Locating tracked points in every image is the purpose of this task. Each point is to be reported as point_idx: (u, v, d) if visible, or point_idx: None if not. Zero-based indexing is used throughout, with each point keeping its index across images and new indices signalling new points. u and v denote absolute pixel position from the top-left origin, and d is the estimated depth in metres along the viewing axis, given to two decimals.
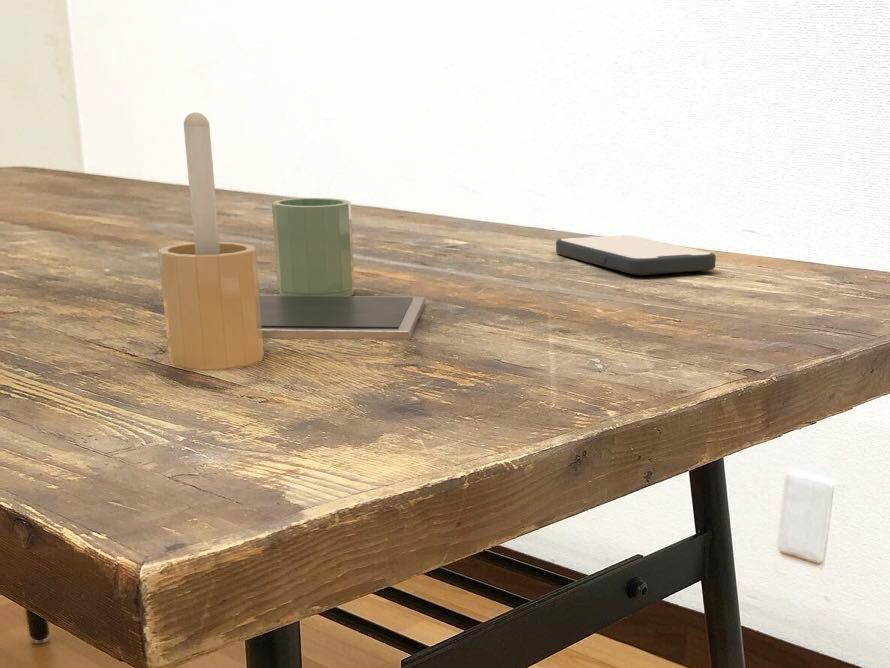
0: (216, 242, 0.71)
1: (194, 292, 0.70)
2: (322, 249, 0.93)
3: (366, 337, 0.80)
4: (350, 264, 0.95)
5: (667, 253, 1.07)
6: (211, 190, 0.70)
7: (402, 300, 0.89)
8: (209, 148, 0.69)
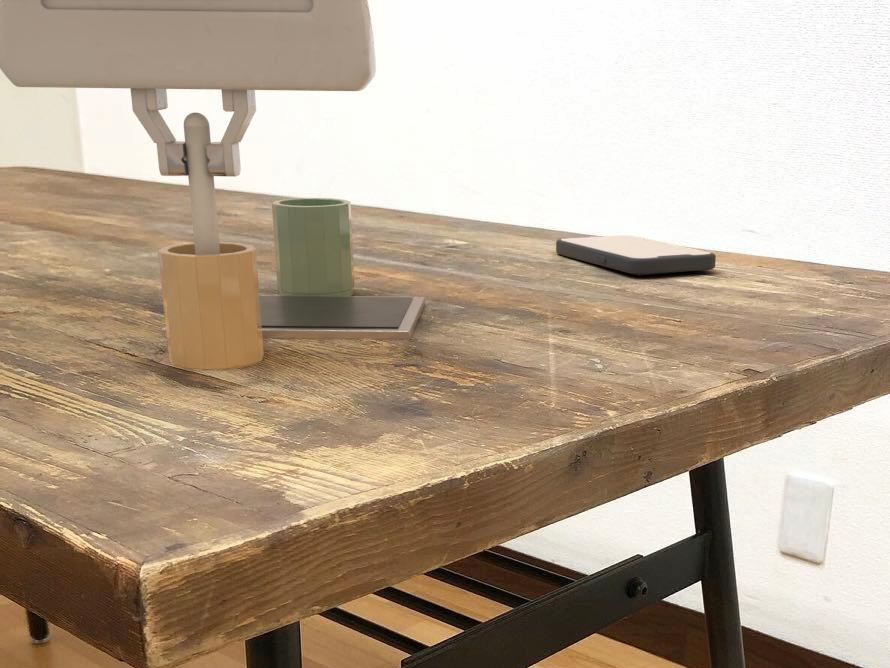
0: (216, 242, 0.71)
1: (194, 292, 0.70)
2: (322, 249, 0.93)
3: (366, 337, 0.80)
4: (350, 264, 0.95)
5: (667, 253, 1.07)
6: (211, 190, 0.70)
7: (402, 300, 0.89)
8: None
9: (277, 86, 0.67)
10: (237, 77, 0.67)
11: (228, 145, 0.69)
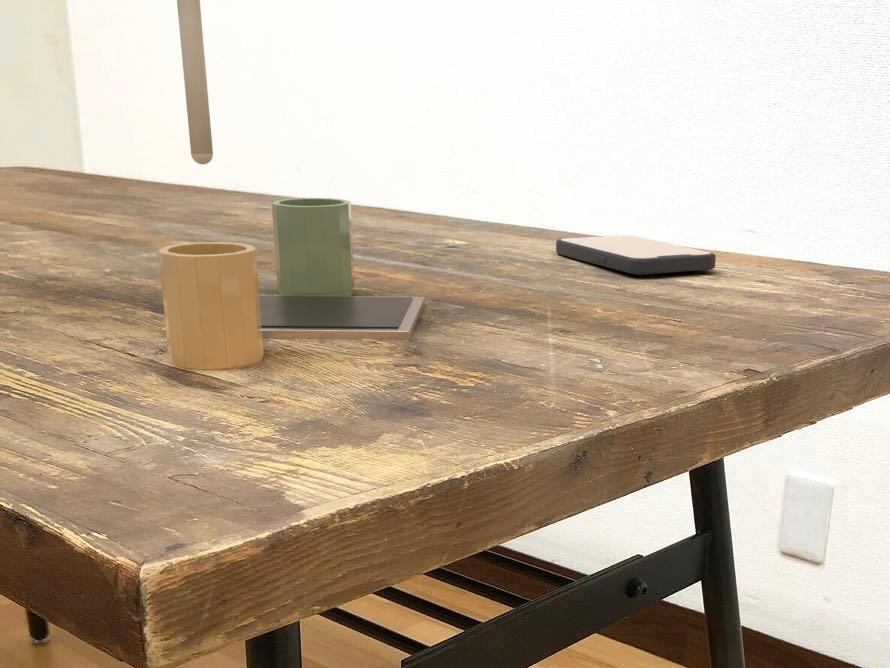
0: (202, 52, 0.79)
1: (194, 292, 0.70)
2: (322, 249, 0.93)
3: (366, 337, 0.80)
4: (350, 264, 0.95)
5: (667, 253, 1.07)
6: (197, 2, 0.78)
7: (402, 300, 0.89)
8: None
9: None
10: None
11: None
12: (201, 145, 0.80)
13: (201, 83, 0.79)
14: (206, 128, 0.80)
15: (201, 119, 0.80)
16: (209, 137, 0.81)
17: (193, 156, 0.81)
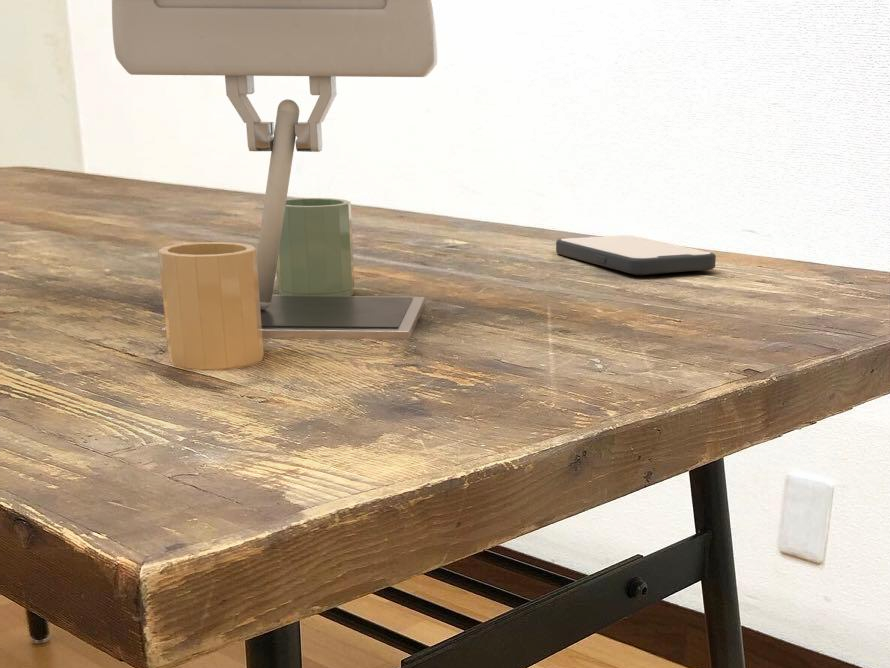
0: (283, 211, 0.82)
1: (194, 292, 0.70)
2: (322, 249, 0.93)
3: (366, 337, 0.80)
4: (350, 264, 0.95)
5: (667, 253, 1.07)
6: (288, 167, 0.81)
7: (402, 300, 0.89)
8: None
9: (354, 72, 0.78)
10: (320, 65, 0.78)
11: (313, 124, 0.80)
12: (262, 294, 0.84)
13: (275, 239, 0.83)
14: (270, 279, 0.84)
15: (268, 271, 0.83)
16: (271, 288, 0.84)
17: None
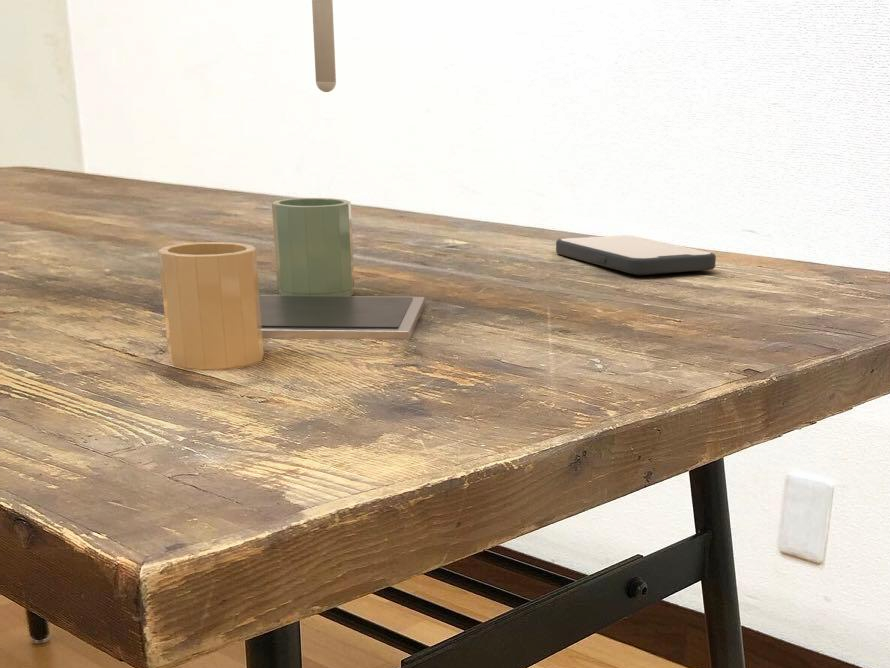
0: None
1: (194, 292, 0.70)
2: (322, 249, 0.93)
3: (366, 337, 0.80)
4: (350, 264, 0.95)
5: (667, 253, 1.07)
6: None
7: (402, 300, 0.89)
8: None
9: None
10: None
11: None
12: (326, 73, 0.86)
13: (328, 15, 0.85)
14: (331, 57, 0.86)
15: (327, 49, 0.86)
16: (334, 66, 0.87)
17: (318, 84, 0.87)
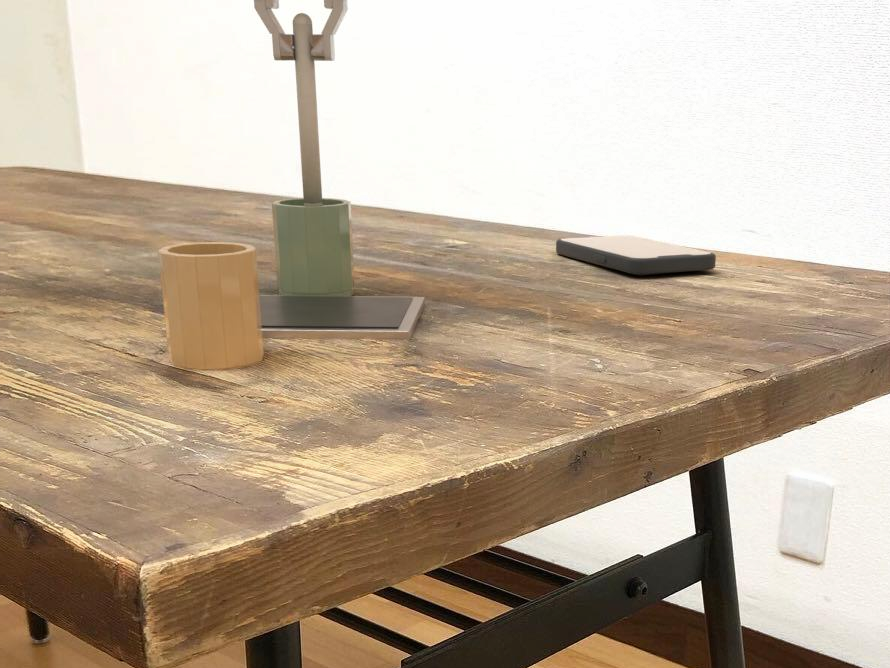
0: (316, 116, 0.92)
1: (194, 292, 0.70)
2: (322, 249, 0.93)
3: (366, 337, 0.80)
4: (350, 264, 0.95)
5: (667, 253, 1.07)
6: (313, 75, 0.90)
7: (402, 300, 0.89)
8: None
9: None
10: None
11: (327, 35, 0.89)
12: (313, 195, 0.93)
13: (315, 143, 0.92)
14: (318, 181, 0.93)
15: (314, 174, 0.93)
16: (320, 189, 0.94)
17: (306, 205, 0.94)
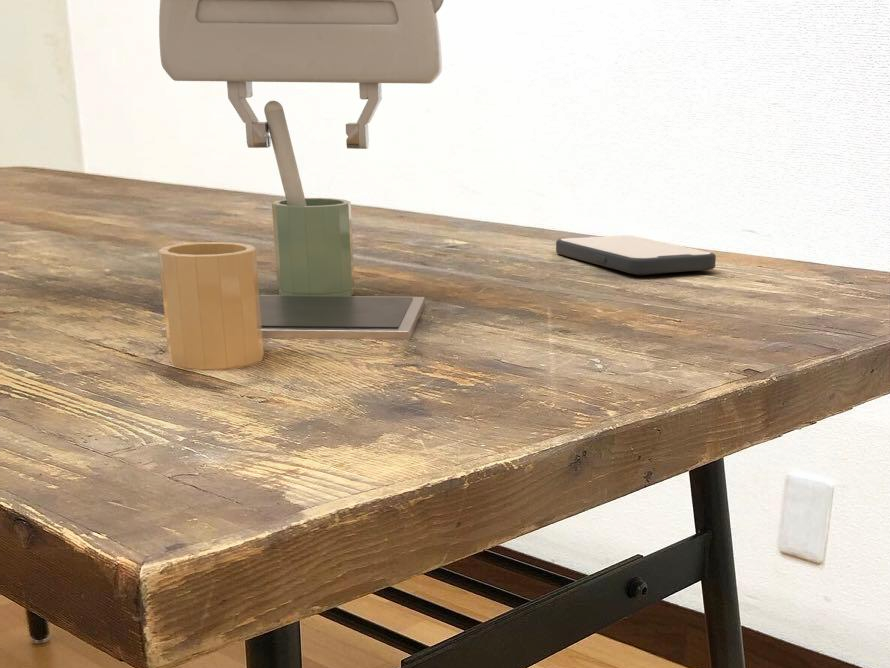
0: (303, 196, 0.94)
1: (194, 292, 0.70)
2: (322, 249, 0.93)
3: (366, 337, 0.80)
4: (350, 264, 0.95)
5: (667, 253, 1.07)
6: (292, 157, 0.93)
7: (402, 300, 0.89)
8: (286, 125, 0.92)
9: (370, 79, 0.89)
10: (340, 73, 0.89)
11: (362, 125, 0.91)
12: None
13: None
14: None
15: None
16: None
17: None
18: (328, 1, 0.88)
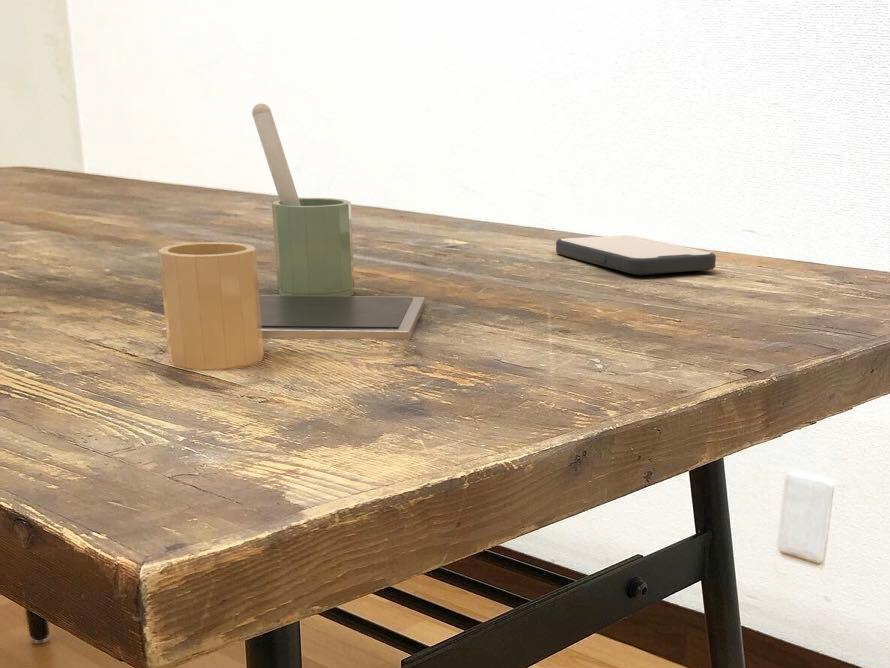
0: (296, 197, 0.94)
1: (194, 292, 0.70)
2: (322, 249, 0.93)
3: (366, 337, 0.80)
4: (350, 264, 0.95)
5: (667, 253, 1.07)
6: (283, 158, 0.93)
7: (402, 300, 0.89)
8: (274, 127, 0.92)
9: None
10: None
11: None
12: None
13: None
14: None
15: None
16: None
17: None
18: None
